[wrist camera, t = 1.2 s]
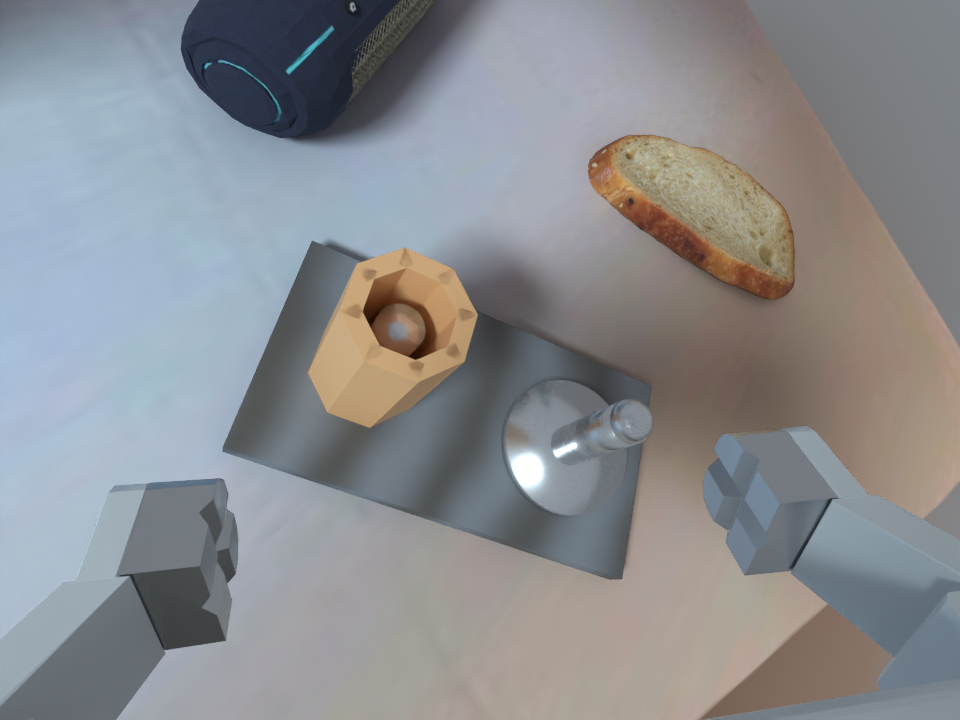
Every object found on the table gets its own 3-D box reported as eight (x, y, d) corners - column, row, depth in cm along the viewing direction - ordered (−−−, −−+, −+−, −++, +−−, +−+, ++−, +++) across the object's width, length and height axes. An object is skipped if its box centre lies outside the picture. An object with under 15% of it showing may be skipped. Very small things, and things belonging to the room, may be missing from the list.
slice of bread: (571, 153, 55) (595, 126, 52) (715, 124, 63) (743, 99, 60) (666, 345, 52) (697, 329, 49) (802, 289, 61) (837, 272, 57)
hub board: (222, 451, 37) (229, 406, 28) (308, 251, 43) (338, 158, 34) (609, 579, 44) (719, 577, 34) (639, 391, 49) (740, 346, 40)
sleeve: (296, 401, 38) (324, 346, 29) (333, 308, 41) (369, 231, 32) (398, 438, 40) (454, 396, 31) (428, 346, 42) (487, 283, 33)
